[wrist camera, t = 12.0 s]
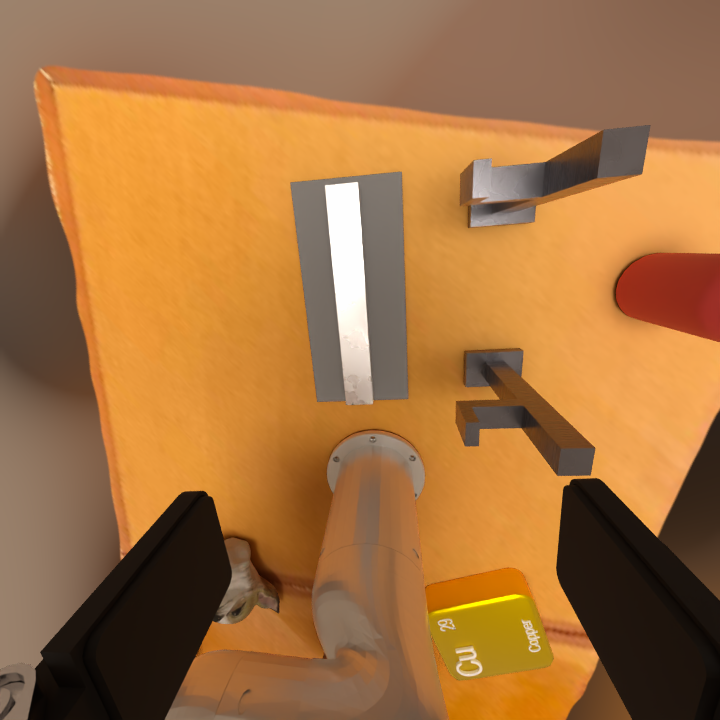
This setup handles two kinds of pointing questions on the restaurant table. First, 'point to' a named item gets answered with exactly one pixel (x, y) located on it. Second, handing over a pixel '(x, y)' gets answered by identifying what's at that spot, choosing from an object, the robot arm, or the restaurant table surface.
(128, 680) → the robot arm
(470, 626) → the element tile
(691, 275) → the beer can
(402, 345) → the mat
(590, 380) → the restaurant table surface
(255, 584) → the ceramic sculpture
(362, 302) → the rail
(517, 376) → the hook stand
